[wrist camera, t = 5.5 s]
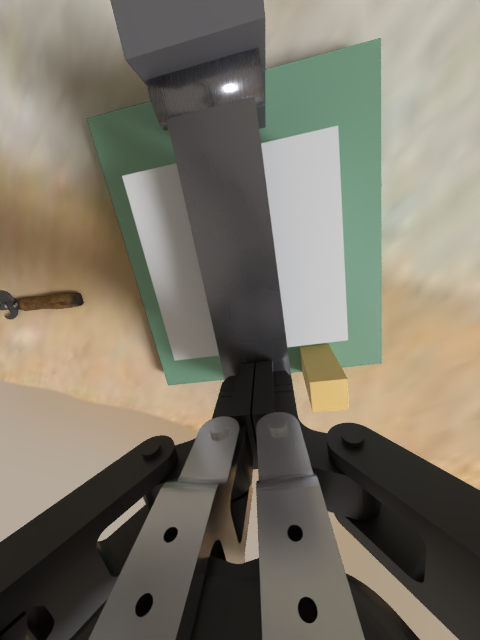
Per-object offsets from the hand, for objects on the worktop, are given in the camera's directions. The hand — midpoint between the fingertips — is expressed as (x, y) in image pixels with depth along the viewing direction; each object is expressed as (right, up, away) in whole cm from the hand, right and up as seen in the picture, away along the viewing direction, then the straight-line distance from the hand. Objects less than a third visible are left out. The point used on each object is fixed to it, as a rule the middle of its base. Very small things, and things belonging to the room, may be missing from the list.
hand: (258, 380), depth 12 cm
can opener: (-18, +5, +10) cm, 21 cm away
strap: (0, +5, +4) cm, 7 cm away
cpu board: (0, +8, +6) cm, 10 cm away
